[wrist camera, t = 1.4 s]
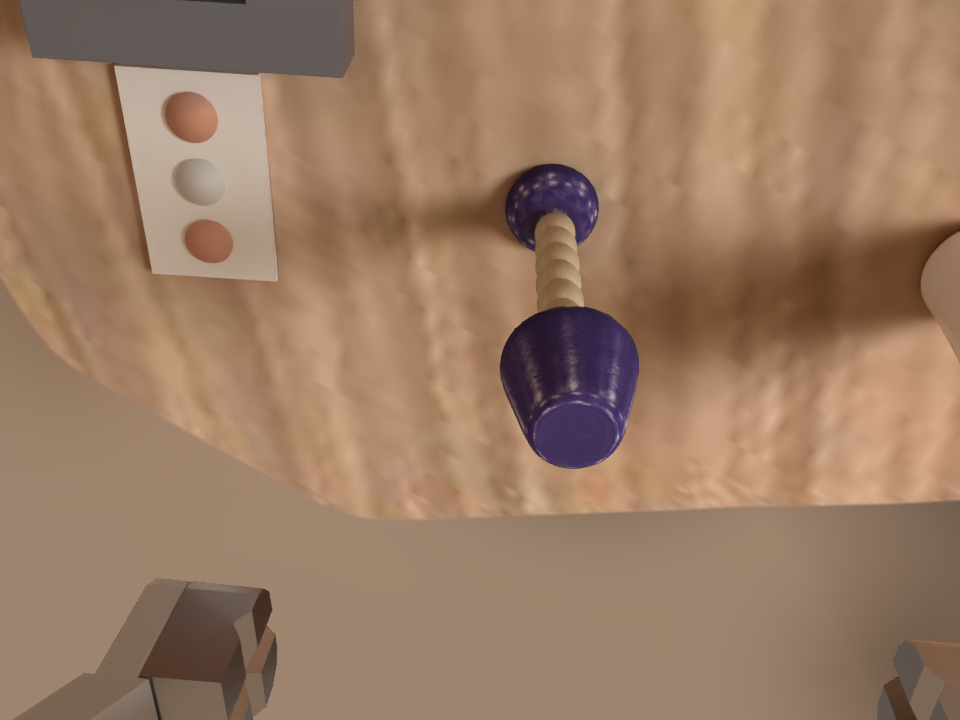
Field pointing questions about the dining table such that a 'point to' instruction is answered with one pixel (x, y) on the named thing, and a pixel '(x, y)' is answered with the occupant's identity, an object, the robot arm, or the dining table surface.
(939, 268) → the drinking glass
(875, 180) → the dining table surface
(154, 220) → the pattern card
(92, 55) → the button panel
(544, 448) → the toy lamp
